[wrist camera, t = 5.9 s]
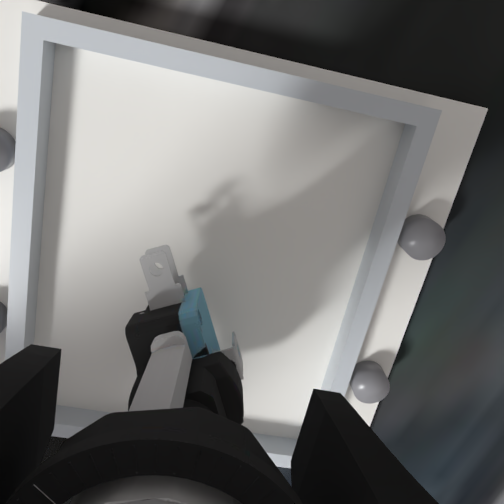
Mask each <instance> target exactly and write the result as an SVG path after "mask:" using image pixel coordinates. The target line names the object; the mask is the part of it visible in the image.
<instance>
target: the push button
mask: <svg viewBox="0 0 504 504" xmlns="http://www.w3.org/2000/svg"><path fill="white" fill-rule="evenodd" d="M139 260H140V263H141V267H142V270H143V273H144V276H145V279H146V282H147V285H148V288H149V291H147V292H145V295H146V298H147V301H148V306H147V308H146V310H144V311H140V312H137V313H134V314H133V315H132V317H131V319H130V320H129V322H128V323H127V325H126V327H125V335H126V339H127V342H128V345H129V348H130V351H131V354H132V357H133V360H134V363H135V366H136V372H137V378H136V380H135V382H134V385H133V387H132V390H131V393H130V397H129V401H128V411H126V412H113V413H109V414H107V415H105V416H103V417H101V418H100V419H98V420H97V421H95V422H93V423H92V424H90V425H89V426H87V427H85V428H84V429H82V430H81V431H79V432H77V433H76V434H74V435H73V436H71V437H70V438H68V439H67V440H65V441H64V443H63V444H62V446H61V447H60V449H59V451H58V452H57V453H56V454H54V455H53V456H52V457H50V458H49V459H47V460H46V461H44V462H43V463H42V464H40V465H39V466H38V467H37V468H36V469H35V470H33V471H32V472H31V473H30V474H29V475H28V476H27V477H26V478H25V479H24V480H23V481H22V482H21V483H20V485H19V486H18V487H17V488H16V489H15V491H14V492H13V493H12V495H11V496H10V498H9V499H8V501H7V502H6V504H63V503H64V502H65V501H67V500H68V499H70V498H71V497H72V500H71V502H70V504H303V503H302V501H301V500H300V498H299V496H298V495H297V494H296V492H295V491H294V490H293V489H292V487H291V486H290V484H289V483H288V482H287V480H286V479H285V478H284V476H283V475H282V473H281V472H280V471H279V469H278V468H277V466H276V465H275V464H274V462H273V461H272V460H271V458H270V457H269V455H268V454H267V453H266V451H265V450H264V449H263V447H262V446H261V444H260V443H259V442H258V440H257V439H256V438H255V436H254V435H253V433H252V432H251V431H250V430H249V429H248V428H246V427H245V426H243V425H241V424H242V423H243V422H244V420H243V417H244V404H243V387H242V382H241V380H243V379H244V377H243V360H242V355H241V352H240V348H239V345H238V341H237V338H236V334H235V332H232V346H233V347H231V348H228V349H224V350H220V347H219V344H218V340H217V337H216V334H215V330H214V327H213V323H212V320H211V317H210V313H209V310H208V307H207V303H206V300H205V297H204V293H203V290H202V288H201V287H200V288H196V289H193V290H189V291H188V289H187V286H186V282H185V279H184V276H183V275H182V276H178V272H177V269H176V266H175V263H174V259H173V256H172V253H171V250H170V246H168V245H162V246H159V247H155V248H151V249H147V250H146V252H145V255H142V256H141V257H140V259H139ZM155 263H160V264H161V265H162V266H163V268H162V269H161V268H158V267H157V266H156V265H155ZM150 271H151V272H150Z"/></svg>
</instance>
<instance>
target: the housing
mask: <svg viewBox="0 0 504 504" xmlns="http://www.w3.org/2000/svg"><path fill="white" fill-rule="evenodd" d="M487 110H488V108H484V107H480V106H476V105H472V104H468V103H463V102H459V101H455V100H451V99H447V98H442V97H438V96H434V95H430V94H426V93H422V92H417V91H413V90H409V89H405V88H401V87H397V86H392V85H388V84H384V83H380V82H376V81H372V80H367V79H363V78H359V77H355V76H351V75H347V74H342V73H338V72H334V71H330V70H326V69H321V68H317V67H313V66H309V65H305V64H301V63H296V62H292V61H288V60H284V59H280V58H276V57H271V56H267V55H263V54H259V53H255V52H251V51H246V50H242V49H238V48H234V47H230V46H226V45H221V44H217V43H213V42H209V41H205V40H201V39H196V38H192V37H188V36H184V35H180V34H175V33H171V32H167V31H163V30H159V29H155V28H150V27H146V26H142V25H138V24H134V23H130V22H125V21H121V20H117V19H113V18H109V17H105V16H100V15H96V14H92V13H88V12H84V11H80V10H75V9H71V8H67V7H63V6H59V5H54V4H50V3H46V2H42V1H38V0H0V364H1V363H2V362H4V361H5V360H7V359H8V358H10V357H11V356H13V355H15V354H16V353H18V352H19V351H21V350H23V349H24V348H26V347H27V346H29V345H31V344H33V345H39V346H46V347H52V348H59V349H62V350H61V360H60V371H59V382H58V392H57V403H56V413H55V424H54V430H53V433H52V435H51V436H55V437H62V438H70V437H71V436H73V435H74V434H76V433H77V432H79V431H81V430H82V429H84V428H85V427H87V426H89V425H90V424H92V423H93V422H95V421H97V420H98V419H100V418H101V417H103V416H105V415H107V414H109V413H113V412H126V411H128V401H129V397H130V393H131V390H132V387H133V385H134V382H135V380H136V378H137V372H136V366H135V363H134V360H133V357H132V354H131V351H130V348H129V345H128V342H127V339H126V335H125V327H126V325H127V323H128V322H129V320H130V319H131V317H132V315H133V314H134V313H137V312H140V311H144V310H146V308H147V306H148V301H147V298H146V295H145V292H147V291H149V288H148V285H147V282H146V279H145V276H144V273H143V270H142V267H141V263H140V260H139V259H140V257H141V256H142V255H145V252H146V250H147V249H151V248H155V247H159V246H162V245H168V246H170V250H171V253H172V256H173V259H174V263H175V266H176V269H177V272H178V276H182V275H183V276H184V279H185V282H186V286H187V289H188V291H189V290H193V289H196V288H200V287H201V288H202V290H203V293H204V297H205V300H206V303H207V307H208V310H209V313H210V317H211V320H212V323H213V327H214V330H215V334H216V337H217V340H218V344H219V347H220V350H224V349H228V348H231V347H233V346H232V332H235V334H236V338H237V341H238V345H239V348H240V352H241V355H242V360H243V377H244V379H243V380H241V382H242V387H243V404H244V417H243V420H244V422H243V423H242V424H241V425H243V426H245V427H246V428H248V429H249V430H250V431H251V432H252V433H253V435H254V436H255V438H256V439H257V440H258V442H259V443H260V444H261V446H262V447H263V449H264V450H265V451H266V453H267V454H268V455H269V457H270V458H271V460H272V461H273V462H274V464H275V465H276V466H277V467H285V468H291V458H292V455H293V452H294V449H295V446H296V443H297V439H298V436H299V433H300V430H301V427H302V423H303V420H304V417H305V414H306V411H307V407H308V404H309V401H310V398H311V395H312V391H313V389H319V390H326V391H332V392H338V393H341V394H342V395H343V396H344V397H345V398H346V400H347V401H348V402H349V403H350V404H351V405H352V407H353V408H354V409H355V410H356V411H357V413H358V414H359V415H360V416H361V417H362V418H363V420H364V421H365V422H366V423H367V424H368V426H369V427H370V425H371V422H372V419H373V417H374V414H375V411H376V409H377V406H378V403H379V401H381V400H382V399H384V398H385V397H386V395H387V394H388V392H389V390H390V383H389V380H388V376H389V374H390V371H391V368H392V366H393V363H394V360H395V358H396V355H397V352H398V349H399V347H400V344H401V341H402V339H403V336H404V333H405V331H406V328H407V325H408V323H409V320H410V317H411V315H412V312H413V309H414V306H415V304H416V301H417V298H418V296H419V293H420V290H421V288H422V285H423V282H424V280H425V277H426V274H427V272H428V269H429V266H430V264H431V261H432V258H433V257H435V256H436V255H437V254H438V253H439V252H440V251H441V250H442V248H443V247H444V244H445V239H446V237H445V232H444V230H443V229H444V226H445V223H446V221H447V218H448V215H449V212H450V210H451V207H452V204H453V202H454V199H455V196H456V194H457V191H458V188H459V186H460V183H461V180H462V178H463V175H464V172H465V170H466V167H467V164H468V161H469V159H470V156H471V153H472V151H473V148H474V145H475V143H476V140H477V137H478V135H479V132H480V129H481V127H482V124H483V121H484V118H485V116H486V113H487ZM155 265H156V266H157V267H158V268H161V269H162V268H163V266H162V265H161V264H160V263H155ZM150 272H151V271H150Z"/></svg>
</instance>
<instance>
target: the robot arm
mask: <svg viewBox="0 0 504 504" xmlns="http://www.w3.org/2000/svg"><path fill="white" fill-rule="evenodd" d="M61 350H62V349H59V348H52V347H46V346H39V345H33V344H31V345H29V346H27V347H26V348H24V349H23V350H21V351H19V352H18V353H16V354H15V355H13V356H11V357H10V358H8V359H7V360H5V361H4V362H2V363H1V364H0V504H6V502H7V501H8V499H9V498H10V496H11V495H12V493H13V492H14V491H15V489H16V488H17V487H18V486H19V485H20V483H21V482H22V481H23V480H24V479H25V478H26V477H27V476H28V475H29V474H30V473H31V472H32V471H33V470H35V469H36V468H37V467H38V466H39V465H40V463H41V461H42V458H43V456H44V453H45V451H46V448H47V446H48V443H49V441H50V438H51V435H52V433H53V430H54V424H55V413H56V403H57V392H58V382H59V371H60V360H61ZM291 481H292V489H293V490H294V491H295V492H296V494H297V495H298V496H299V498H300V500H301V501H302V503H303V504H439V503H438V502H437V501H436V500H435V499H434V498H433V497H432V496H431V495H430V494H429V493H428V492H427V491H426V490H425V489H424V488H423V487H422V486H421V485H420V484H419V483H418V482H417V481H416V479H415V478H414V477H413V476H412V475H411V474H410V473H409V472H408V471H407V470H406V469H405V467H404V466H403V465H402V464H401V463H400V462H399V461H398V460H397V458H396V457H395V456H394V455H393V454H392V453H391V452H390V450H389V449H388V448H387V447H386V446H385V445H384V443H383V442H382V441H381V440H380V439H379V438H378V436H377V435H376V434H375V433H374V432H373V430H372V429H371V428H370V427H369V426H368V424H367V423H366V422H365V421H364V420H363V418H362V417H361V416H360V415H359V414H358V413H357V411H356V410H355V409H354V408H353V407H352V405H351V404H350V403H349V402H348V401H347V400H346V398H345V397H344V396H343V395H342V394H341V393H338V392H332V391H326V390H319V389H313V391H312V395H311V398H310V401H309V404H308V407H307V411H306V414H305V417H304V420H303V423H302V427H301V430H300V433H299V436H298V439H297V443H296V446H295V449H294V452H293V455H292V458H291Z"/></svg>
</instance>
